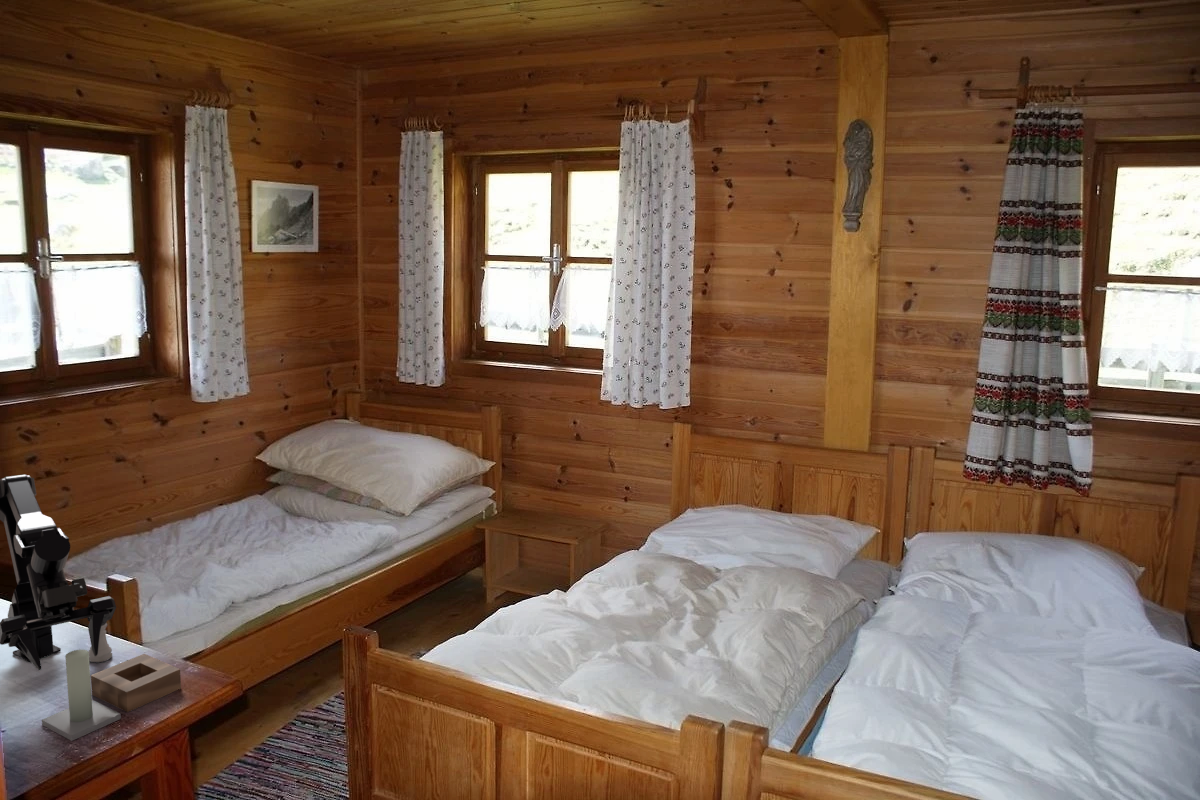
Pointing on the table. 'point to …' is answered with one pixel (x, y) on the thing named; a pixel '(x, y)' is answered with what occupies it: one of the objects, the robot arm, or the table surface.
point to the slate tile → (78, 729)
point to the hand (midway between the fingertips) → (68, 662)
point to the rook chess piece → (101, 648)
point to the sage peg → (79, 685)
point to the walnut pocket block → (135, 682)
